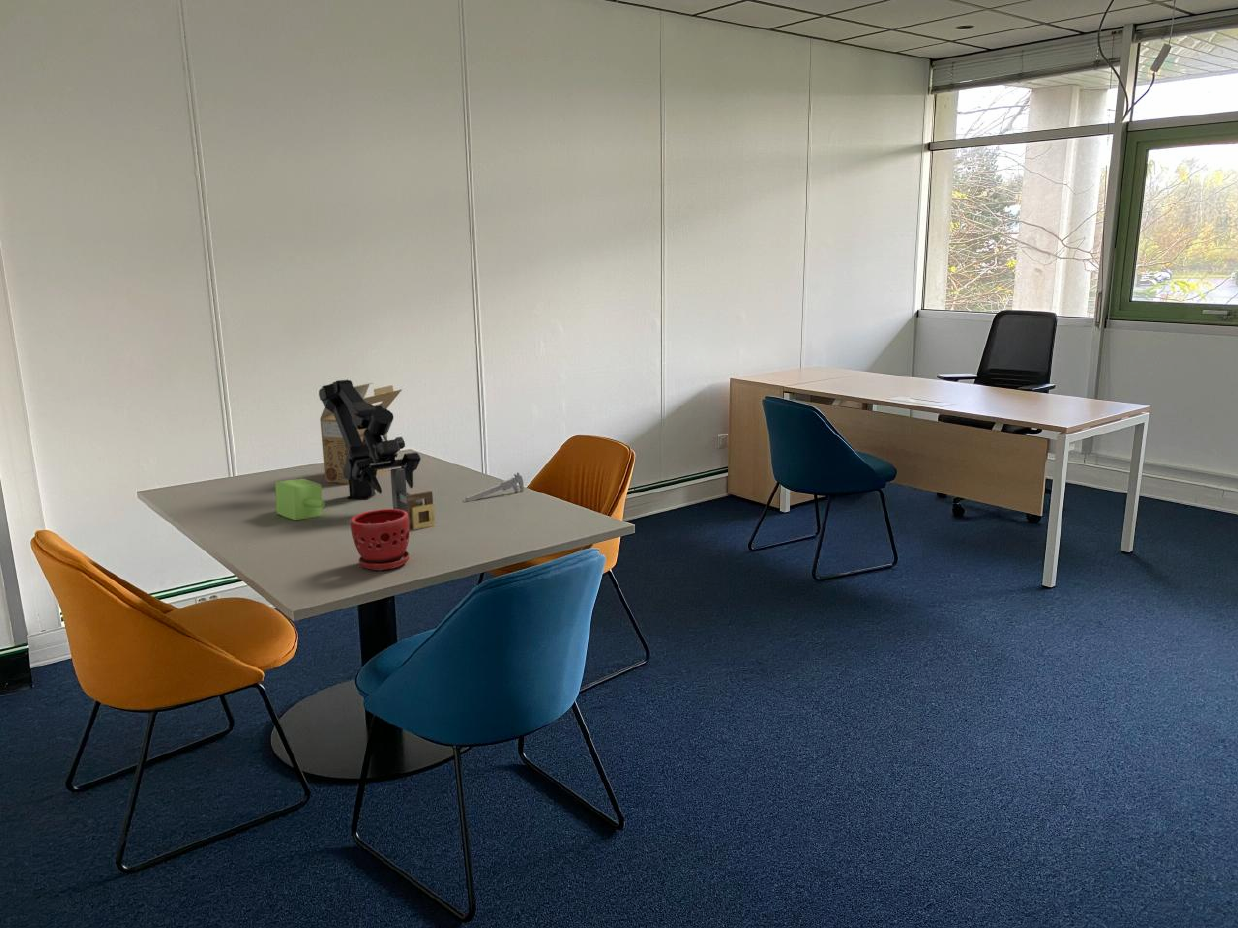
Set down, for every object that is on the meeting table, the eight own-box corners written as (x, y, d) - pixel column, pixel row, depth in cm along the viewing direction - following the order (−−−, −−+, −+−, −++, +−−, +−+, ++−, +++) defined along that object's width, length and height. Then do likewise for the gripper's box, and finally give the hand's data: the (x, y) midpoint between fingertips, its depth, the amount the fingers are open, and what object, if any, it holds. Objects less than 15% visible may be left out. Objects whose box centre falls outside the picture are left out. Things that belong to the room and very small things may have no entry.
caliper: (522, 491, 286) (521, 471, 285) (523, 492, 285) (523, 472, 284) (462, 502, 274) (461, 481, 273) (464, 503, 273) (463, 482, 272)
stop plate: (404, 525, 250) (402, 493, 248) (428, 521, 254) (426, 489, 252) (410, 528, 247) (407, 495, 245) (434, 523, 251) (432, 491, 249)
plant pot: (393, 552, 227) (390, 504, 224) (422, 564, 218) (419, 515, 215) (344, 564, 218) (340, 515, 216) (371, 577, 209) (367, 526, 206)
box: (371, 485, 295) (364, 391, 288) (319, 481, 302) (312, 389, 295) (407, 471, 314) (402, 383, 307) (358, 467, 321) (352, 381, 314)
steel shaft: (393, 514, 260) (390, 469, 257) (403, 512, 261) (400, 467, 259) (415, 525, 249) (412, 478, 246) (425, 523, 250) (422, 476, 248)
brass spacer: (412, 528, 247) (410, 506, 246) (432, 524, 250) (431, 503, 249) (414, 529, 246) (412, 507, 245) (434, 525, 250) (433, 504, 248)
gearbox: (336, 518, 260) (335, 485, 258) (304, 524, 252) (302, 490, 250) (303, 506, 271) (302, 474, 270) (271, 512, 264) (270, 479, 262)
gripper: (352, 432, 254) (371, 478, 248) (415, 424, 265) (435, 468, 259) (344, 456, 262) (362, 501, 256) (405, 447, 273) (424, 490, 267)
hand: (396, 490), depth 259 cm, fingers open, 9 cm apart
